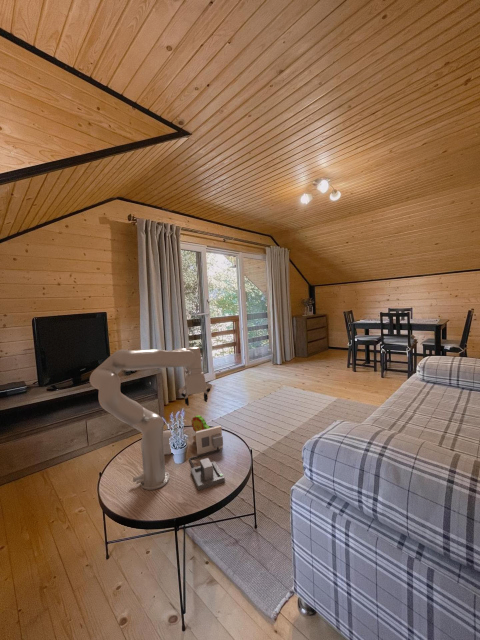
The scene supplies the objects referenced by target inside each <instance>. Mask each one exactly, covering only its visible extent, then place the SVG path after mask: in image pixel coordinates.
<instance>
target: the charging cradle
mask: <svg viewBox="0 0 480 640" xmlns="http://www.w3.org/2000/svg"><path fill="white" fill-rule="evenodd" d="M210 462H211V463H212V465H213V476H214V478H213V479H210V480H207V481H205V480H204V478H203V476H202V474H201V467H200V465H198V466H194V468H192V467H191V468H190V475H192V476H191V477H192V479H193V481H194V483H195V485H196V488H197V489H198V491H202V490H205V489H207V488H210V487H214V486H216V485H219V484H223V483H225V482H226V479H225V476H224V474H223V473H222V471H221V469H220V468H219V466H218V464H217V463H216V461H210Z"/></svg>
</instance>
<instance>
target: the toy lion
mask: <svg viewBox="0 0 480 640" xmlns="http://www.w3.org/2000/svg"><path fill="white" fill-rule="evenodd" d="M191 428H192V429H193V431H194V432H195V435H193V436H192V440H193V442H194V443H196V432H197V431H201V430H205V429H209V428H211V427H210V425H208V424H207V421H206V420H205V418H204V417H202V415H198V414H197V415H195V416H193V417H192V419H191Z"/></svg>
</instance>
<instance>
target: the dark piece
mask: <svg viewBox="0 0 480 640" xmlns="http://www.w3.org/2000/svg"><path fill="white" fill-rule="evenodd" d="M219 452H220V449H219V447H217V450H213V451H210V452H207V453H203V454H200V455H198V454H197V455H195V456H192V457H189V458H188V461H189V463H190V465H191V468H194V467H195V466H194V465H195V464H194V463H193V460H194V459H195V460H196V459H199V458H202V457H206V456H208V455H212V454H215V453H219Z"/></svg>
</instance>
